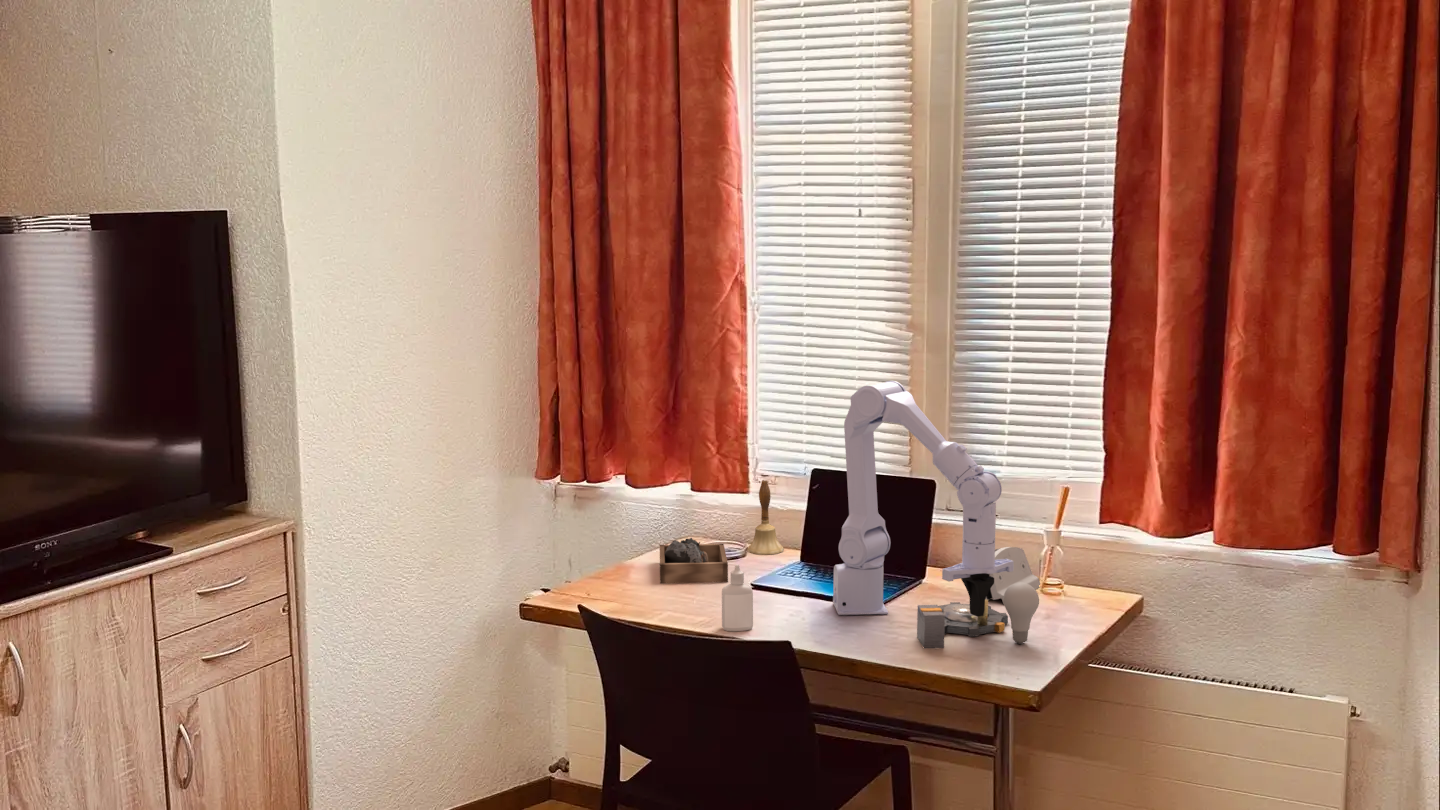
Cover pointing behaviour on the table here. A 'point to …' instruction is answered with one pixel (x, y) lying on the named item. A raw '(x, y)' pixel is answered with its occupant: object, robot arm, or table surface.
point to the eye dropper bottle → (737, 603)
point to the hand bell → (765, 528)
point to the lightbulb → (1020, 609)
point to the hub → (959, 613)
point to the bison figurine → (685, 552)
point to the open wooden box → (696, 567)
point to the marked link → (930, 626)
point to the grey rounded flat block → (1018, 574)
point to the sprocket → (978, 622)
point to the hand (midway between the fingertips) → (977, 614)
